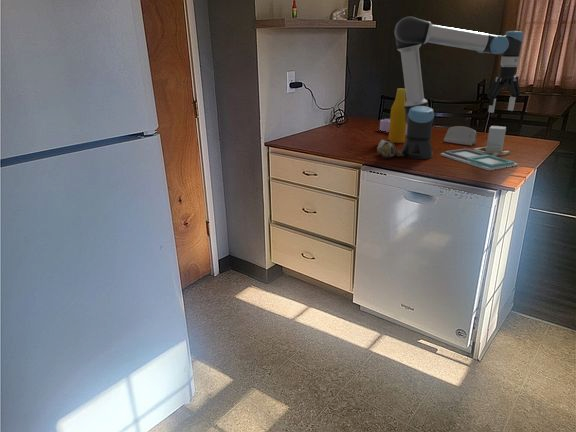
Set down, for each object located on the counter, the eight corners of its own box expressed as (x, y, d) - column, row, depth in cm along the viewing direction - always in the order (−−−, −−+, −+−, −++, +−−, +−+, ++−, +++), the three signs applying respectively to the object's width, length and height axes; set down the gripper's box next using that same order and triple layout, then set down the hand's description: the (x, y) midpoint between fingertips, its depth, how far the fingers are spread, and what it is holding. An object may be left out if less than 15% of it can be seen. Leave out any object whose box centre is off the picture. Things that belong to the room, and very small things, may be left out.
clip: (375, 131, 275) (376, 120, 272) (386, 128, 283) (387, 118, 280) (404, 136, 262) (405, 124, 259) (414, 133, 270) (415, 121, 267)
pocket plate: (488, 170, 193) (489, 166, 192) (440, 155, 218) (441, 151, 217) (517, 165, 200) (518, 161, 199) (467, 151, 225) (467, 147, 224)
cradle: (490, 156, 215) (491, 153, 214) (471, 151, 225) (471, 148, 225) (509, 154, 220) (509, 151, 220) (489, 148, 230) (490, 146, 230)
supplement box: (502, 151, 225) (507, 126, 220) (500, 154, 219) (505, 129, 214) (487, 149, 228) (491, 125, 223) (484, 152, 222) (489, 127, 218)
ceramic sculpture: (391, 135, 221) (406, 143, 208) (389, 151, 225) (404, 160, 212) (372, 136, 219) (386, 145, 206) (371, 153, 222) (384, 162, 209)
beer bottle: (398, 144, 242) (403, 90, 231) (384, 141, 248) (389, 88, 237) (408, 141, 247) (413, 88, 236) (394, 139, 254) (399, 87, 243)
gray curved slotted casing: (442, 141, 248) (447, 123, 247) (445, 142, 252) (450, 125, 250) (472, 145, 238) (477, 127, 236) (474, 147, 241) (479, 129, 240)
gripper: (496, 67, 200) (488, 114, 208) (533, 65, 210) (524, 110, 218) (483, 66, 206) (476, 112, 214) (520, 65, 216) (511, 108, 224)
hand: (500, 111), depth 216 cm, fingers open, 13 cm apart
